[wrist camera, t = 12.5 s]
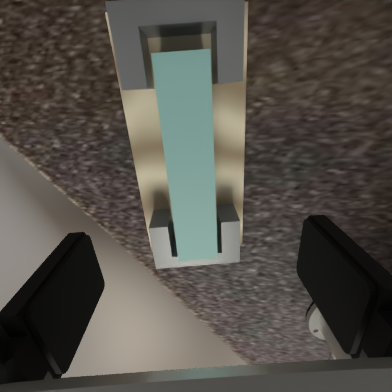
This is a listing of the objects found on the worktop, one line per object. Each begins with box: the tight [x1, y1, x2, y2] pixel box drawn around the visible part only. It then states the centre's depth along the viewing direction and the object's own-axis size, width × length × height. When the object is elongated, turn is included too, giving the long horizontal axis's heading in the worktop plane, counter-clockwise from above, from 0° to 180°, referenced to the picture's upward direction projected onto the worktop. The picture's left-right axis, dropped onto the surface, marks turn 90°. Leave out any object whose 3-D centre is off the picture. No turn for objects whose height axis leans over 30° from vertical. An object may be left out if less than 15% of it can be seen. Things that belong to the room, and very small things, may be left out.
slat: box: [151, 49, 218, 261], centre depth 21 cm, size 18×4×6 cm, turn 4°
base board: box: [105, 2, 248, 250], centre depth 25 cm, size 25×12×2 cm, turn 4°
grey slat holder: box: [105, 0, 245, 269], centre depth 22 cm, size 24×10×4 cm, turn 4°
